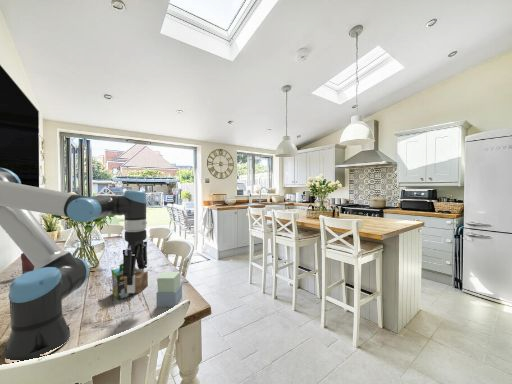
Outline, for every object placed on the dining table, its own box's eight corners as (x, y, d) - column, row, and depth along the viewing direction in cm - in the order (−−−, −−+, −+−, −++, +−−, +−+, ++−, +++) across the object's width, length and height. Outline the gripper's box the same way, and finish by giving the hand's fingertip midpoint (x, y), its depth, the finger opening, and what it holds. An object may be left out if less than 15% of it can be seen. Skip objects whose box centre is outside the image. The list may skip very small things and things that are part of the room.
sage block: (174, 292, 95) (173, 278, 95) (157, 292, 95) (157, 278, 95) (180, 284, 102) (179, 271, 102) (164, 284, 102) (164, 271, 102)
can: (20, 277, 127) (18, 253, 127) (35, 273, 133) (33, 250, 132) (24, 279, 124) (23, 254, 124) (39, 275, 130) (38, 251, 129)
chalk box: (133, 287, 113) (132, 257, 113) (139, 293, 107) (138, 262, 106) (111, 293, 107) (110, 262, 106) (117, 300, 100) (116, 267, 100)
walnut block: (140, 293, 86) (139, 277, 86) (124, 293, 86) (124, 277, 86) (147, 286, 92) (147, 271, 92) (133, 286, 92) (132, 271, 92)
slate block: (175, 306, 95) (175, 292, 94) (156, 307, 95) (156, 293, 94) (182, 297, 103) (181, 284, 102) (164, 297, 103) (164, 284, 102)
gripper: (131, 235, 79) (132, 300, 80) (156, 225, 98) (156, 278, 99) (110, 235, 79) (110, 300, 80) (138, 225, 98) (139, 278, 99)
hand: (135, 288), depth 89 cm, fingers closed on walnut block, 6 cm apart
